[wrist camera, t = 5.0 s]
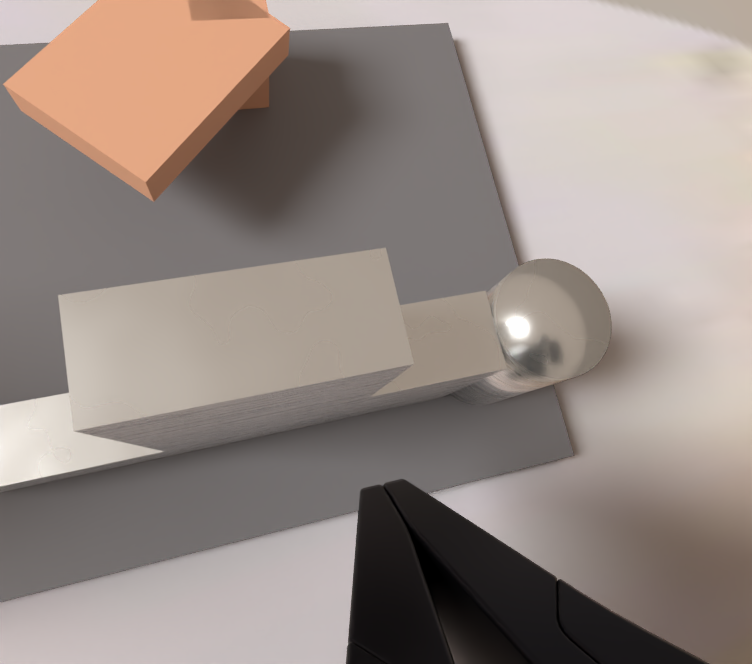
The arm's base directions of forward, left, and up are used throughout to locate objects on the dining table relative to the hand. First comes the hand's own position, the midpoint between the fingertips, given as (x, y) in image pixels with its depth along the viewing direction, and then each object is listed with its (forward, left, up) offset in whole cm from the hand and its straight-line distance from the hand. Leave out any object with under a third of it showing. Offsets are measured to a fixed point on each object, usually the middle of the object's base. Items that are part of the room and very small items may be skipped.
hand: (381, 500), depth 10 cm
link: (+2, +2, -6) cm, 7 cm away
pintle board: (+6, +5, -7) cm, 10 cm away
